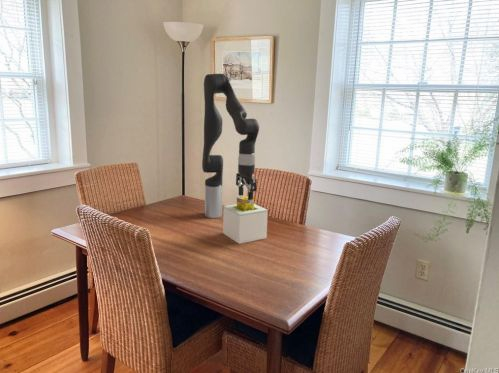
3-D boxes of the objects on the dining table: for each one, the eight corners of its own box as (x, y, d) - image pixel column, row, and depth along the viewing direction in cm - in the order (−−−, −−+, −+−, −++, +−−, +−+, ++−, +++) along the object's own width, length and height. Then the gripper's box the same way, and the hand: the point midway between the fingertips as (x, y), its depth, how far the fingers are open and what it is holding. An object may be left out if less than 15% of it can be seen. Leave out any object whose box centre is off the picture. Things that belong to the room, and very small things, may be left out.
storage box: (223, 233, 198) (223, 205, 194) (249, 228, 206) (250, 201, 202) (239, 243, 185) (239, 214, 182) (266, 238, 193) (267, 209, 190)
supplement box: (245, 223, 190) (245, 199, 187) (236, 220, 193) (236, 197, 191) (254, 220, 194) (254, 197, 192) (244, 217, 198) (244, 195, 195)
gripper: (231, 161, 191) (230, 194, 195) (247, 166, 179) (246, 202, 183) (245, 159, 195) (244, 193, 199) (262, 165, 183) (260, 200, 187)
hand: (245, 197), depth 191 cm, fingers open, 8 cm apart
